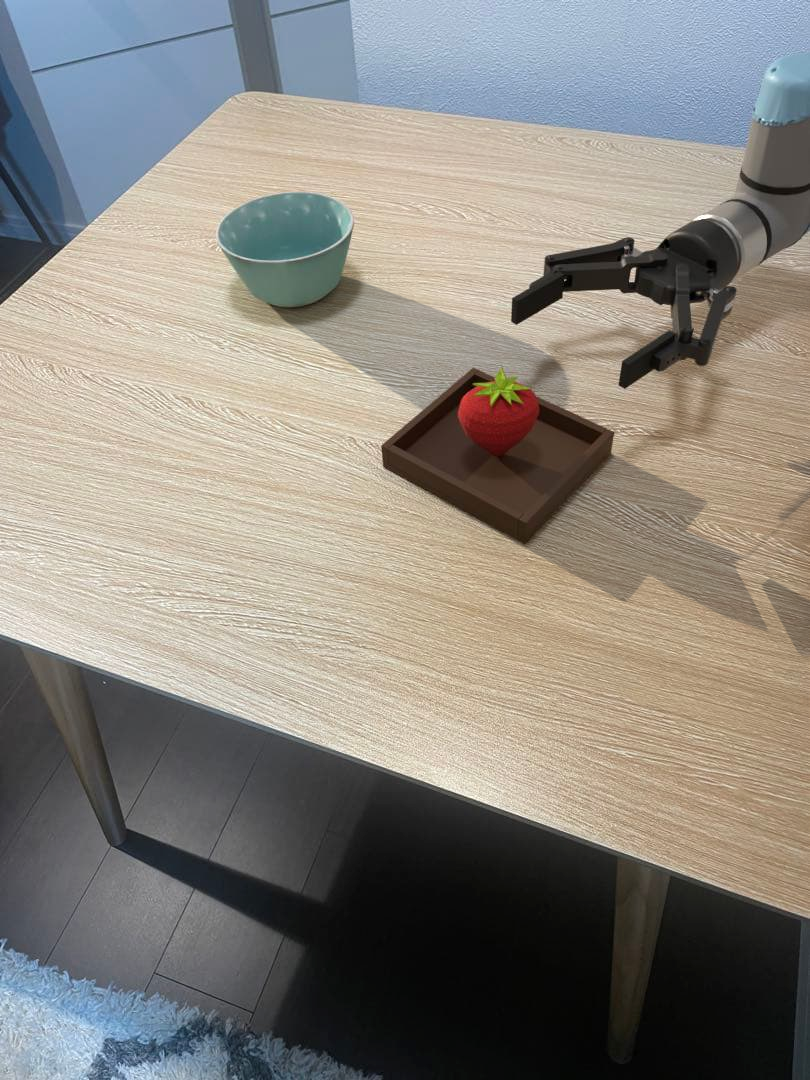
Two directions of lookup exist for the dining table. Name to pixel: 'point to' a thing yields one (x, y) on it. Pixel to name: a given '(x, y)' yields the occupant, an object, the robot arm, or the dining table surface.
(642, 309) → the dining table surface
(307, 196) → the bowl
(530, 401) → the strawberry
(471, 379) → the tray
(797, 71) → the robot arm
